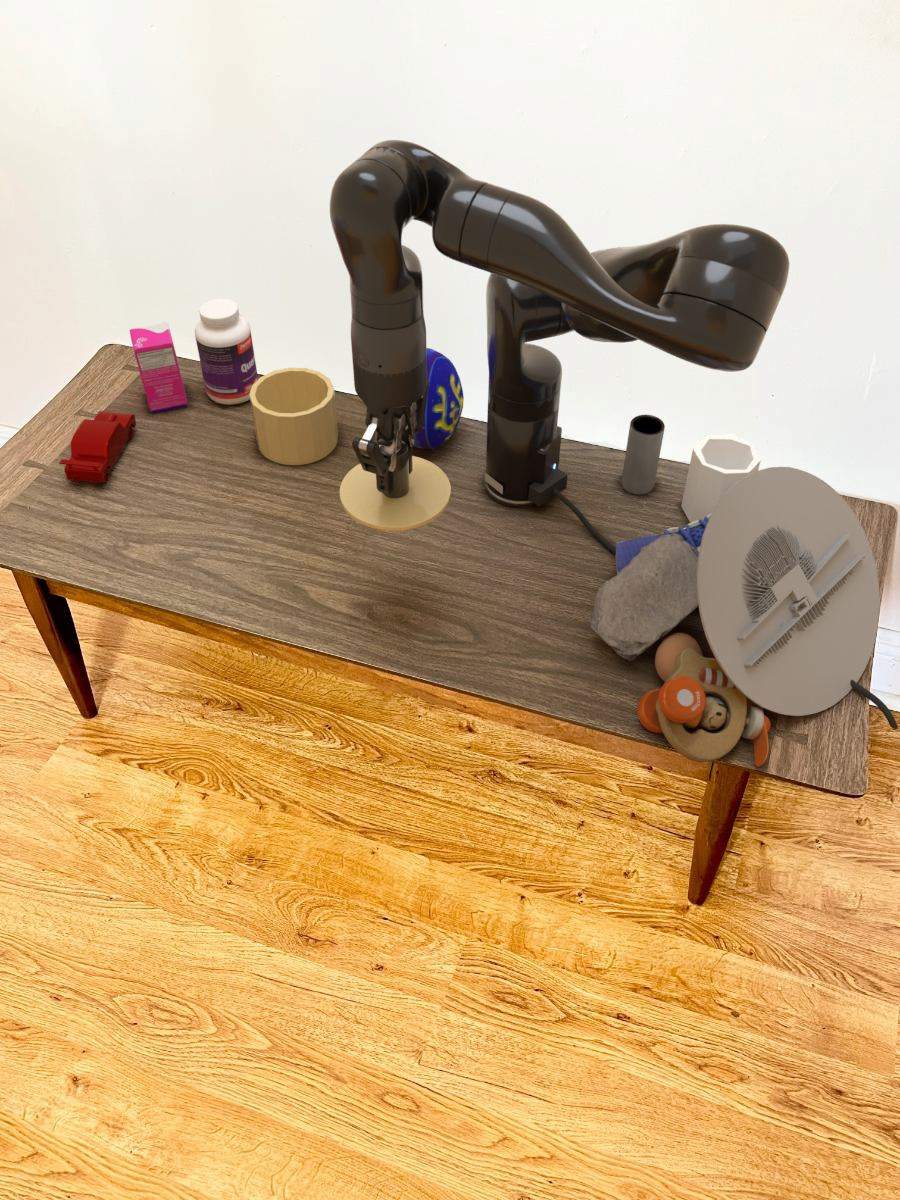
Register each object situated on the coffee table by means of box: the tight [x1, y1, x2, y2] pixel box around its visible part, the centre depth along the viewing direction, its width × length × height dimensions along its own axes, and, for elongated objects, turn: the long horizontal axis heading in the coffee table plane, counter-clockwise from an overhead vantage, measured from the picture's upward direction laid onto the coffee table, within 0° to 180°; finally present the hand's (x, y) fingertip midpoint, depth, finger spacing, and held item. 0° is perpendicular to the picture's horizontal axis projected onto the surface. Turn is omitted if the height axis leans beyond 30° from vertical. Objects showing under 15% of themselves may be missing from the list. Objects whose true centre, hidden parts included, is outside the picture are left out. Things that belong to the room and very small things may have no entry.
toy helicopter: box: [636, 648, 771, 767], centre depth 118 cm, size 8×21×14 cm
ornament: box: [413, 347, 465, 450], centre depth 150 cm, size 11×9×15 cm
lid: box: [339, 440, 452, 532], centre depth 119 cm, size 13×13×7 cm
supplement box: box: [129, 321, 189, 414], centre depth 158 cm, size 6×6×12 cm
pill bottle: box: [194, 298, 259, 406], centre depth 159 cm, size 8×8×14 cm
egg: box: [654, 632, 704, 683], centre depth 123 cm, size 5×5×7 cm
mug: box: [680, 433, 762, 523], centre depth 142 cm, size 12×9×10 cm
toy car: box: [58, 410, 137, 485], centre depth 151 cm, size 14×6×5 cm, turn 172°
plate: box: [697, 466, 881, 717], centre depth 120 cm, size 28×28×1 cm
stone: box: [588, 533, 699, 662], centre depth 126 cm, size 15×5×10 cm
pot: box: [249, 367, 339, 466], centre depth 153 cm, size 12×12×8 cm
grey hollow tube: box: [621, 414, 666, 496], centre depth 145 cm, size 4×4×10 cm
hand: (395, 481), depth 120 cm, fingers closed on lid, 3 cm apart
